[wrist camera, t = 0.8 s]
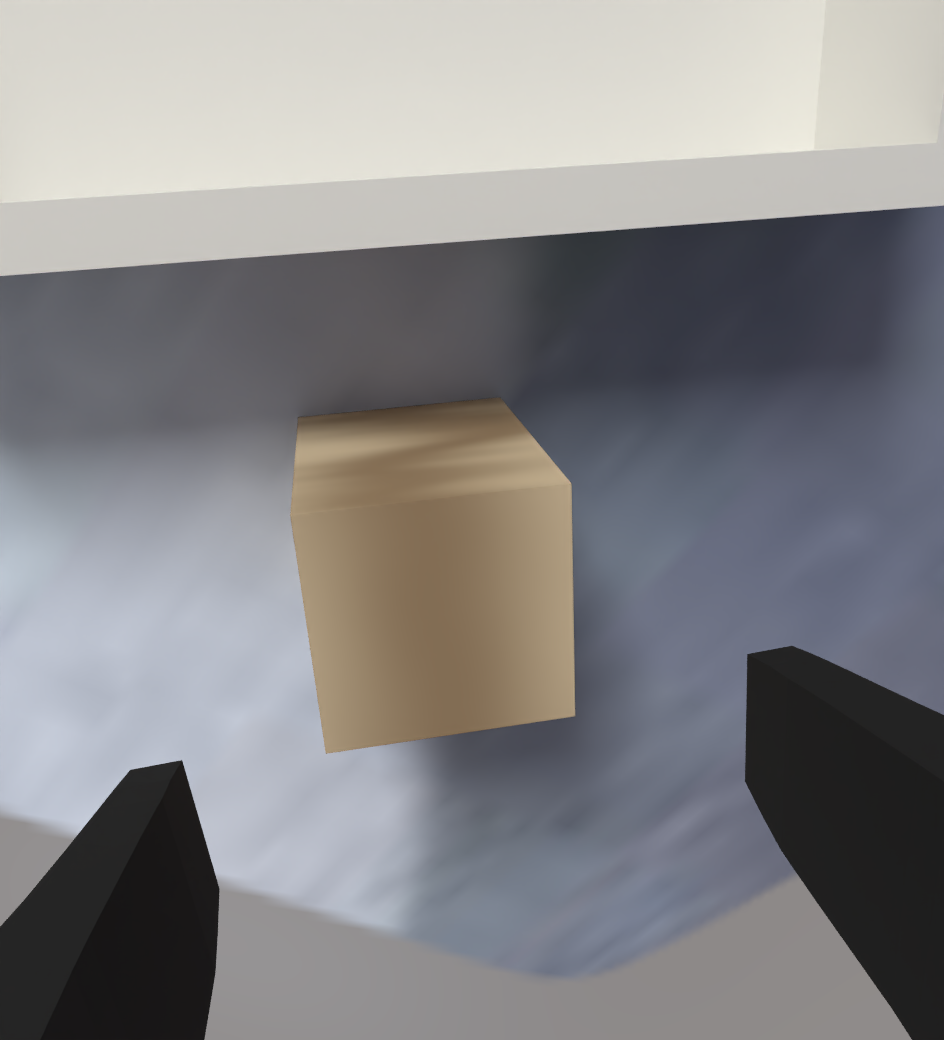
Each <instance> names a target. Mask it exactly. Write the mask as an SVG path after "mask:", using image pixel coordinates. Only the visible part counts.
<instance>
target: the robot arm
mask: <svg viewBox="0 0 944 1040" xmlns="http://www.w3.org/2000/svg"><path fill="white" fill-rule="evenodd" d="M745 782H746V784H747V786H748V788H749V790H750V792H751V794H752V796H753V798H754V800H755V802H756V804H757V806H758V808H759V810H760V812H761V814H762V816H763V818H764V820H765V821H766V823H767V825H768V827H769V829H770V831H771V832H772V834H773V836H774V838H775V840H776V842H777V843H778V845H779V847H780V849H781V851H782V852H783V854H784V855H785V857H786V858H787V860H788V861H789V863H790V864H791V865H792V867H793V868H794V870H795V871H796V873H797V874H798V876H799V877H800V878H801V880H802V881H803V882H804V884H805V886H806V887H807V889H808V890H809V891H810V893H811V894H812V896H813V897H814V899H815V900H816V902H817V903H818V904H819V906H820V907H821V909H822V910H823V911H824V913H825V914H826V916H827V917H828V919H829V920H830V921H831V923H832V924H833V926H834V927H835V929H836V930H837V931H838V933H839V934H840V936H841V937H842V938H843V940H844V941H845V942H846V944H847V945H848V947H849V948H850V950H851V951H852V953H853V954H854V955H855V957H856V958H857V960H858V961H859V962H860V964H861V965H862V967H863V968H864V969H865V971H866V972H867V974H868V975H869V977H870V978H871V979H872V981H873V982H874V984H875V985H876V987H877V988H878V989H879V991H880V992H881V994H882V995H883V996H884V998H885V999H886V1001H887V1002H888V1004H889V1005H890V1006H891V1008H892V1009H893V1011H894V1012H895V1014H896V1015H897V1017H898V1019H899V1020H900V1022H901V1023H902V1025H903V1026H904V1028H905V1029H906V1031H907V1032H908V1034H909V1036H910V1037H911V1039H912V1040H944V715H942V714H940V713H938V712H936V711H933V710H931V709H929V708H927V707H925V706H923V705H920V704H918V703H916V702H914V701H912V700H910V699H908V698H905V697H903V696H901V695H899V694H897V693H895V692H893V691H891V690H888V689H886V688H884V687H882V686H880V685H878V684H876V683H874V682H872V681H870V680H867V679H865V678H863V677H861V676H859V675H857V674H855V673H853V672H851V671H848V670H846V669H844V668H842V667H840V666H838V665H836V664H833V663H831V662H829V661H827V660H825V659H822V658H820V657H818V656H816V655H813V654H811V653H809V652H806V651H804V650H801V649H799V648H796V647H794V646H789V647H783V648H778V649H773V650H767V651H762V652H757V653H751V654H748V655H747V709H746V763H745ZM218 911H219V886H218V883H217V879H216V876H215V872H214V869H213V865H212V862H211V859H210V855H209V852H208V848H207V845H206V841H205V838H204V834H203V831H202V828H201V824H200V821H199V817H198V814H197V810H196V807H195V803H194V800H193V797H192V793H191V790H190V786H189V783H188V779H187V776H186V772H185V769H184V766H183V762H182V760H181V761H176V762H170V763H165V764H160V765H154V766H149V767H144V768H138V769H133V770H130V771H129V772H128V773H127V775H126V776H125V777H124V778H123V779H122V781H121V782H120V783H119V784H118V785H117V787H116V788H115V789H114V790H113V792H112V793H111V794H110V795H109V797H108V798H107V799H106V800H105V802H104V803H103V804H102V805H101V807H100V808H99V809H98V810H97V812H96V813H95V814H94V815H93V817H92V818H91V819H90V820H89V822H88V823H87V824H86V825H85V827H84V828H83V829H82V830H81V832H80V833H79V834H78V835H77V837H76V838H75V839H74V840H73V842H72V843H71V844H70V845H69V847H68V848H67V849H66V850H65V851H64V853H63V854H62V855H61V856H60V858H59V859H58V860H57V861H56V862H55V864H54V865H53V866H52V867H51V868H50V870H49V871H48V872H47V873H46V875H45V876H44V877H43V878H42V879H41V881H40V882H39V883H38V884H37V885H36V887H35V888H34V889H33V890H32V891H31V893H30V894H29V895H28V896H27V897H26V899H25V900H24V901H23V902H22V903H21V904H20V906H19V907H18V908H17V909H16V910H15V911H14V912H13V913H12V914H11V916H10V917H9V918H8V919H7V920H6V921H5V922H4V923H3V925H2V926H0V1040H204V1038H205V1032H206V1026H207V1020H208V1014H209V1008H210V1002H211V996H212V990H213V984H214V977H215V969H216V952H217V936H218Z"/></svg>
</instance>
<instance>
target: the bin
mask: <svg viewBox="0 0 944 1040" xmlns="http://www.w3.org/2000/svg"><path fill="white" fill-rule="evenodd" d="M943 205H944V0H0V276H7V275H21V274H34V273H47V272H61V271H74V270H87V269H101V268H114V267H128V266H141V265H154V264H168V263H181V262H194V261H208V260H221V259H234V258H248V257H261V256H275V255H288V254H301V253H315V252H328V251H341V250H355V249H368V248H382V247H395V246H408V245H422V244H435V243H448V242H462V241H475V240H489V239H502V238H515V237H529V236H542V235H555V234H569V233H582V232H596V231H609V230H622V229H636V228H649V227H662V226H676V225H689V224H702V223H716V222H729V221H743V220H756V219H769V218H783V217H796V216H809V215H823V214H836V213H850V212H863V211H876V210H890V209H903V208H916V207H930V206H943Z"/></svg>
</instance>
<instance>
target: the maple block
mask: <svg viewBox="0 0 944 1040" xmlns="http://www.w3.org/2000/svg"><path fill="white" fill-rule="evenodd" d="M290 516H291V523H292V530H293V536H294V543H295V550H296V556H297V563H298V570H299V577H300V583H301V590H302V597H303V603H304V610H305V617H306V623H307V630H308V637H309V644H310V650H311V657H312V664H313V670H314V677H315V684H316V690H317V697H318V704H319V711H320V717H321V724H322V731H323V737H324V744H325V751H326V754H327V753H333V752H340V751H347V750H353V749H360V748H367V747H373V746H380V745H387V744H393V743H400V742H407V741H413V740H420V739H427V738H433V737H440V736H447V735H453V734H460V733H467V732H473V731H480V730H487V729H493V728H500V727H507V726H513V725H520V724H527V723H533V722H540V721H547V720H553V719H560V718H567V717H573V716H575V677H574V615H573V553H572V491H571V482H570V481H569V480H568V479H567V478H566V476H565V475H564V474H563V473H562V472H561V470H560V469H559V468H558V467H557V466H556V464H555V463H554V462H553V461H552V460H551V458H550V457H549V456H548V455H547V454H546V452H545V451H544V450H543V449H542V447H541V446H540V445H539V444H538V443H537V441H536V440H535V439H534V438H533V437H532V435H531V434H530V433H529V432H528V431H527V429H526V428H525V427H524V426H523V425H522V423H521V422H520V421H519V420H518V418H517V417H516V416H515V415H514V414H513V412H512V411H511V410H510V409H509V408H508V406H507V405H506V404H505V403H504V402H503V400H502V399H501V398H500V397H498V398H488V399H478V400H468V401H458V402H448V403H438V404H428V405H418V406H407V407H397V408H387V409H377V410H367V411H357V412H347V413H337V414H327V415H316V416H306V417H298V427H297V439H296V452H295V464H294V477H293V489H292V502H291V514H290Z"/></svg>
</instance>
